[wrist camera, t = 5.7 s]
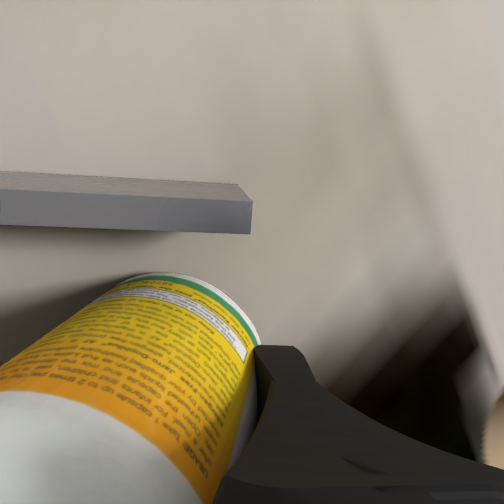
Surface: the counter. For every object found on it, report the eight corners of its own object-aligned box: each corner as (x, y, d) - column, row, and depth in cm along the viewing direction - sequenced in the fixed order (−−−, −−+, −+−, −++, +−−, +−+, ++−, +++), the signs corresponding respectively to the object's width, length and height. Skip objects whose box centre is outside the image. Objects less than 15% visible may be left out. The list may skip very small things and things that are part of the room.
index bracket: (217, 499, 15) (224, 587, 12) (-95, 515, 13) (-171, 620, 11) (237, 184, 12) (252, 201, 9) (-149, 162, 11) (-271, 175, 8)
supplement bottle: (277, 434, 13) (197, 1122, 4) (107, 439, 14) (-291, 1018, 5) (253, 256, 12) (59, 643, 3) (69, 274, 13) (-557, 619, 4)
